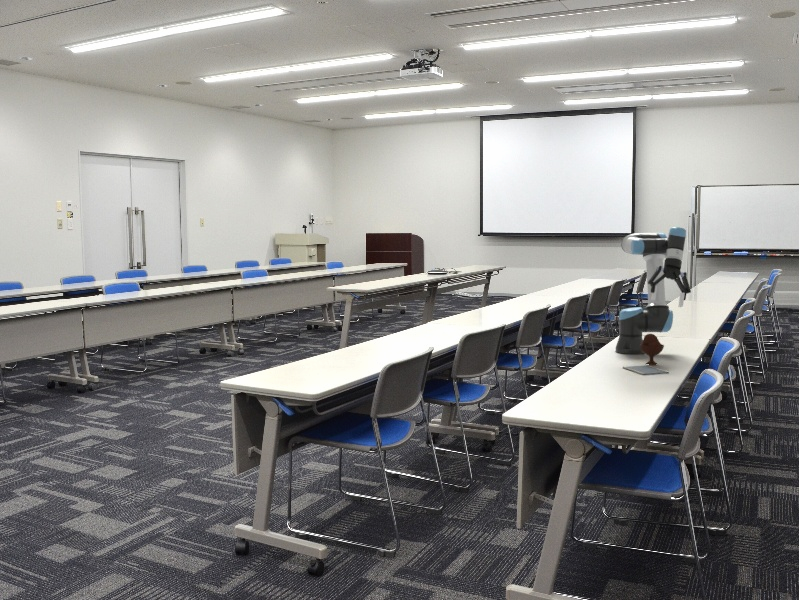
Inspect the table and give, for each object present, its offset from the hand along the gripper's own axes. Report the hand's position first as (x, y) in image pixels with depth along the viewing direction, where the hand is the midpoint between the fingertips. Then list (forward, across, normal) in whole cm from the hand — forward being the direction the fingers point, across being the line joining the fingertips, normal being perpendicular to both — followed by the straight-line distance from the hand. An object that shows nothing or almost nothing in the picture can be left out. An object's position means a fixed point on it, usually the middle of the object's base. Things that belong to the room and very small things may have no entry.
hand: (666, 303), depth 330 cm
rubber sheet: (+32, -3, +4) cm, 33 cm away
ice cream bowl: (+27, +6, +18) cm, 32 cm away
